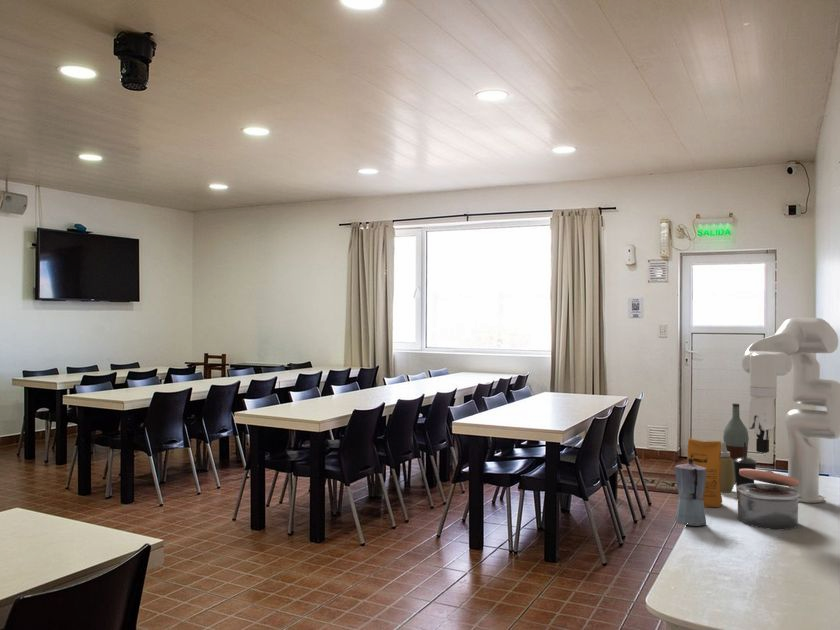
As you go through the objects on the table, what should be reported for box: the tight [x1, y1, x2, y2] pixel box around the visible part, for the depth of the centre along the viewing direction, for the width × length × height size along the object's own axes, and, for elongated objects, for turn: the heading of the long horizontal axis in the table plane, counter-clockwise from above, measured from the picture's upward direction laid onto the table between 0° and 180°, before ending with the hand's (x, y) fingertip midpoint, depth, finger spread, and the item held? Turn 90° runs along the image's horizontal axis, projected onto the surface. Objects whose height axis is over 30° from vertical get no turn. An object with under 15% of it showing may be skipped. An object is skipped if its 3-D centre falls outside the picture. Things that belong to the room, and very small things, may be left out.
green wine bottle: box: [722, 403, 750, 483], centre depth 280 cm, size 9×9×30 cm
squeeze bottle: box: [720, 441, 736, 493], centre depth 263 cm, size 8×8×18 cm
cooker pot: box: [736, 482, 799, 530], centre depth 224 cm, size 18×18×10 cm
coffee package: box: [686, 438, 723, 508], centre depth 245 cm, size 10×12×22 cm
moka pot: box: [674, 458, 707, 527], centre depth 221 cm, size 10×15×20 cm, turn 174°
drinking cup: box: [733, 442, 758, 500], centre depth 251 cm, size 8×8×20 cm
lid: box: [739, 469, 799, 487], centre depth 225 cm, size 17×17×3 cm
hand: (762, 451), depth 221 cm, fingers closed
